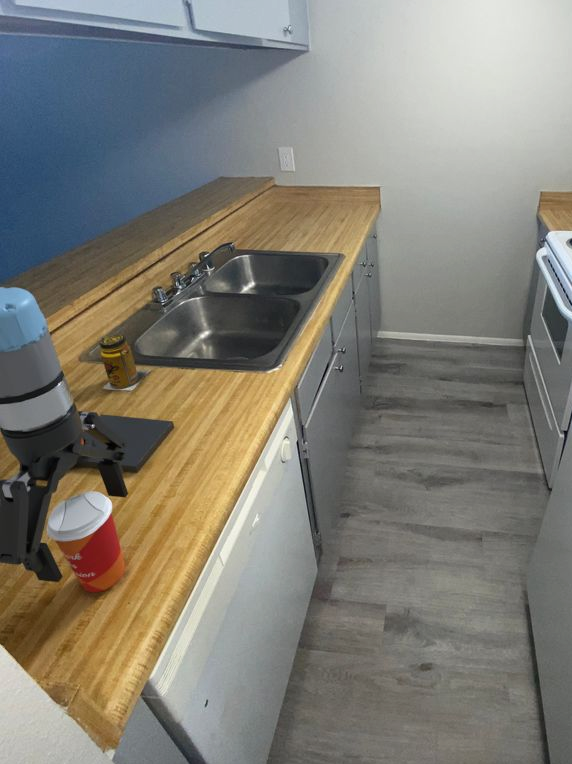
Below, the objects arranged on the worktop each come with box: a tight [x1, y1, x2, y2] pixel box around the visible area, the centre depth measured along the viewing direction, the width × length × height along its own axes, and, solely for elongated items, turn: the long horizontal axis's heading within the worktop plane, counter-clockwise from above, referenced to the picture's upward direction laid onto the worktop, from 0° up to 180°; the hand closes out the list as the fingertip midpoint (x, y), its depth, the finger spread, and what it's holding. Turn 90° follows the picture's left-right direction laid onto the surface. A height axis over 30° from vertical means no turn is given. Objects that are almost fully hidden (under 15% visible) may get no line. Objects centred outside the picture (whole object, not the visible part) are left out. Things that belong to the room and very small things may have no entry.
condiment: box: [99, 334, 152, 391], centre depth 112 cm, size 7×8×12 cm
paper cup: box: [46, 490, 126, 594], centre depth 68 cm, size 8×8×14 cm
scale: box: [73, 413, 175, 474], centre depth 94 cm, size 17×14×4 cm
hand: (87, 533), depth 66 cm, fingers open, 13 cm apart
